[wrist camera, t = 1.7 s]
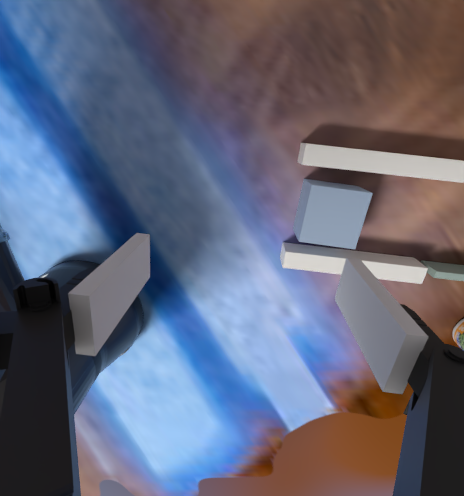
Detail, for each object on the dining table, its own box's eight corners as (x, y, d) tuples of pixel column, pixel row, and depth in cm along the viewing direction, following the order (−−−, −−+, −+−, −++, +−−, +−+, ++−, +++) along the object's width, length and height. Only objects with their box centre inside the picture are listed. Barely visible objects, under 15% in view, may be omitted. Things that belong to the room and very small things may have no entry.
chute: (280, 257, 35) (282, 267, 33) (300, 142, 30) (306, 143, 28) (408, 272, 35) (421, 284, 32) (451, 159, 30) (471, 161, 27)
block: (292, 228, 34) (298, 241, 30) (303, 178, 32) (311, 184, 28) (342, 235, 34) (355, 249, 30) (356, 185, 32) (372, 193, 28)
